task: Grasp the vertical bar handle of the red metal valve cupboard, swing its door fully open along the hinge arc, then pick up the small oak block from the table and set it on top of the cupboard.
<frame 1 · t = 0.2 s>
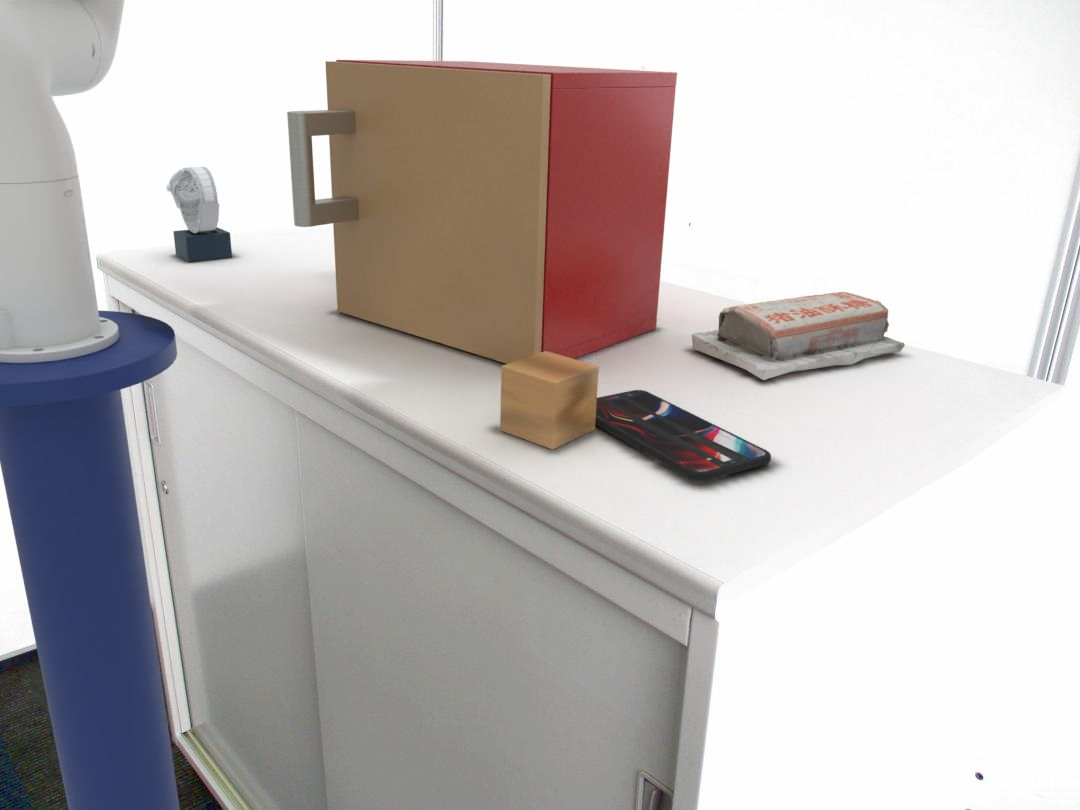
packaged product: (796, 354, 88), on the table
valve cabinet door: (402, 213, 81), point 12 cm above the table, hinge at 0.0°
watch: (203, 258, 117), on the table
oak block: (547, 430, 68), on the table
smartphone: (665, 437, 68), on the table
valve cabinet: (499, 319, 95), on the table
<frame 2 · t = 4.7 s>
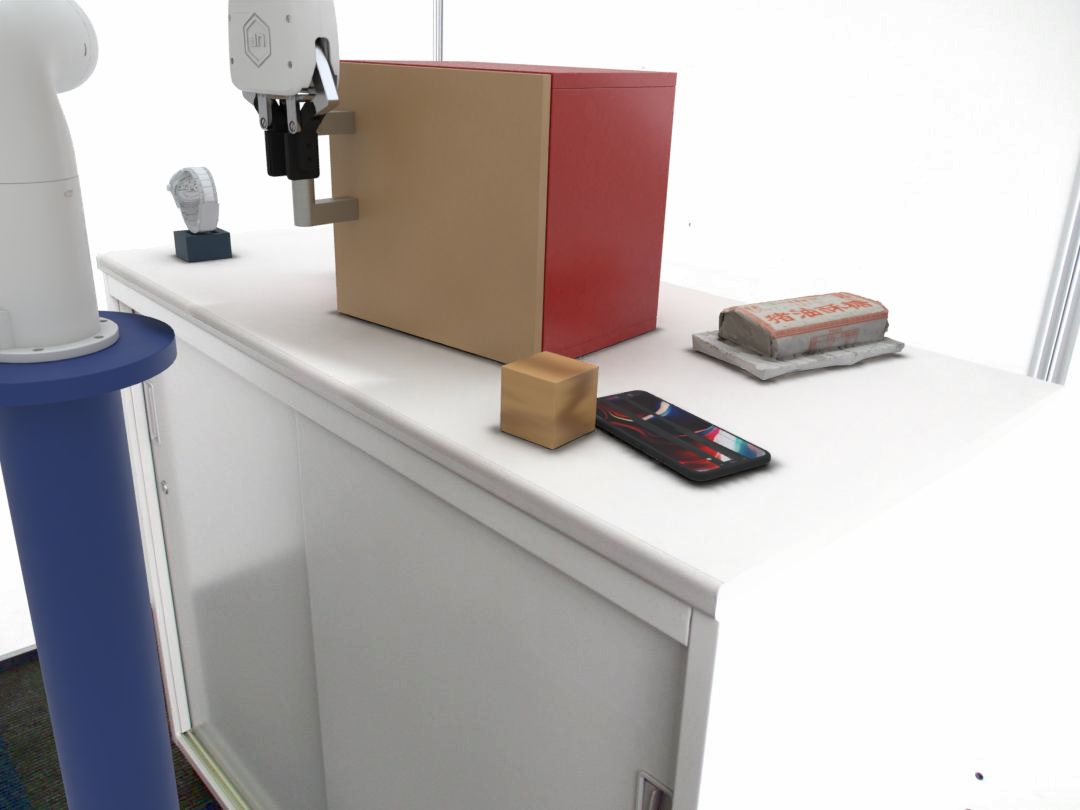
hand: (293, 175, 83), 15 cm above the table, tool pointing down, fingers closed on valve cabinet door, 2 cm apart
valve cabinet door: (402, 213, 81), point 12 cm above the table, hinge at 0.0°, touching gripper
everything else where it was.
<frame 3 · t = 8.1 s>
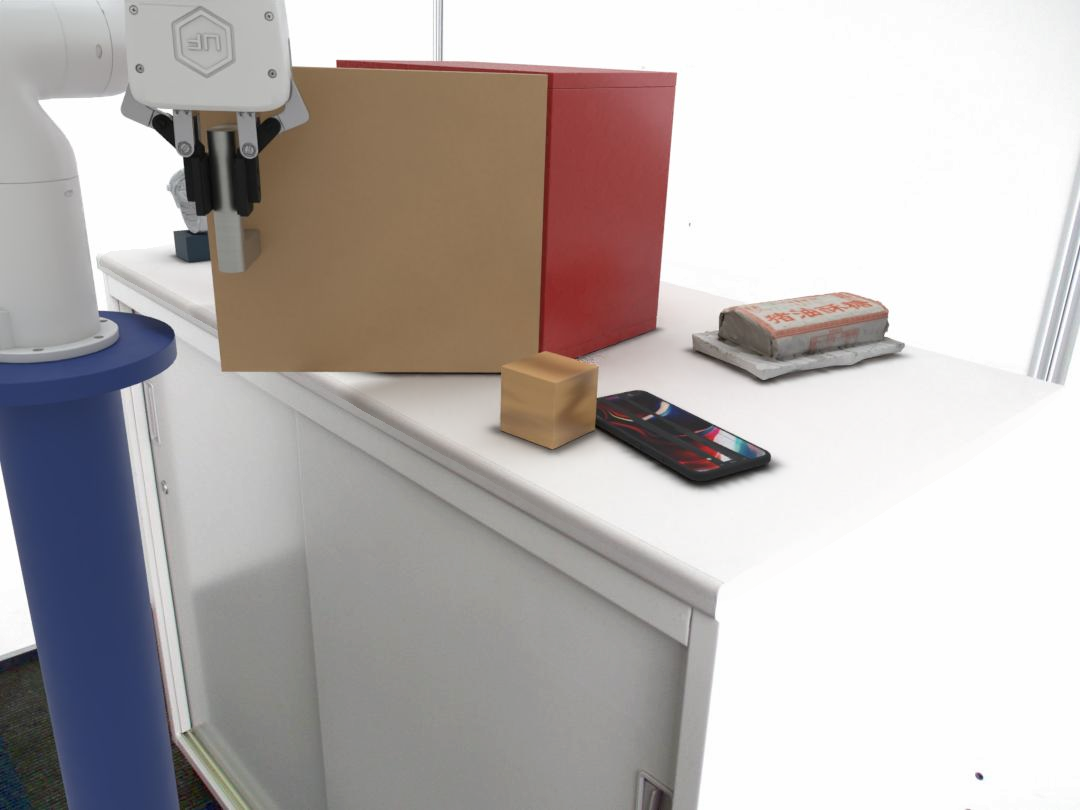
hand: (225, 211, 66), 15 cm above the table, tool pointing down, fingers closed on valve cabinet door, 2 cm apart
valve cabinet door: (374, 236, 71), point 12 cm above the table, hinge at 44.8°, touching gripper
everything else where it was.
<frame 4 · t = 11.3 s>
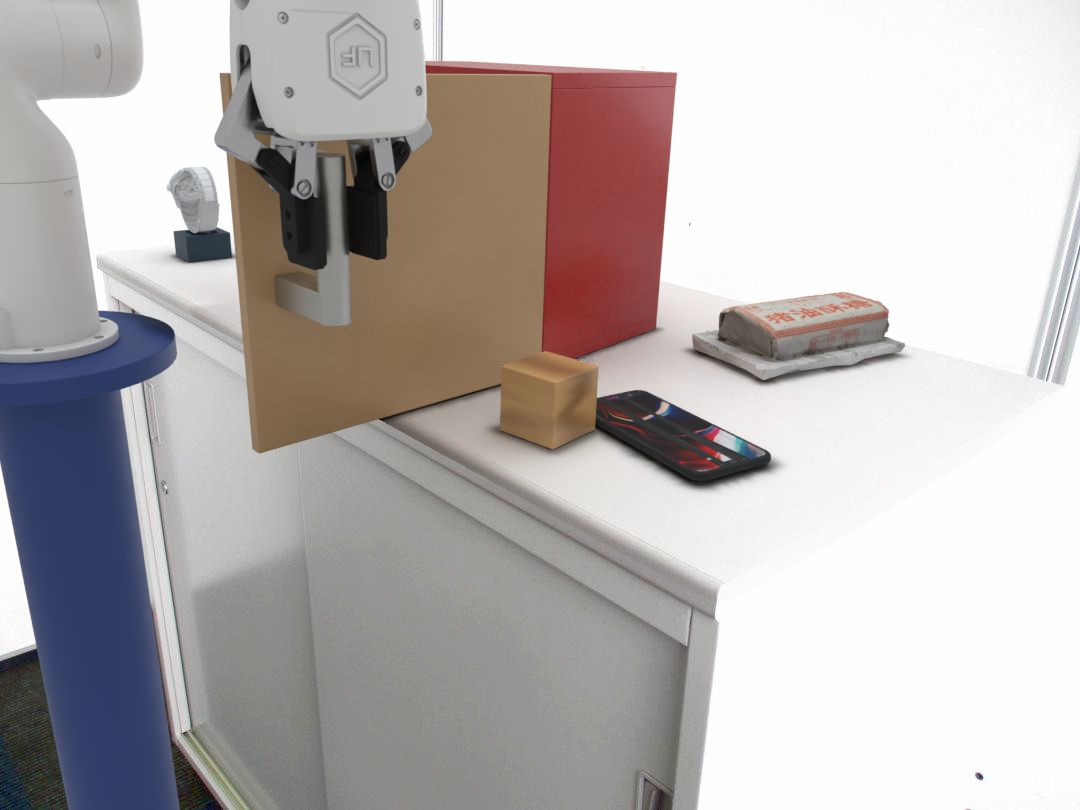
hand: (337, 257, 55), 14 cm above the table, tool pointing down, fingers open, 3 cm apart
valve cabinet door: (438, 259, 65), point 12 cm above the table, hinge at 83.9°
everything else where it was.
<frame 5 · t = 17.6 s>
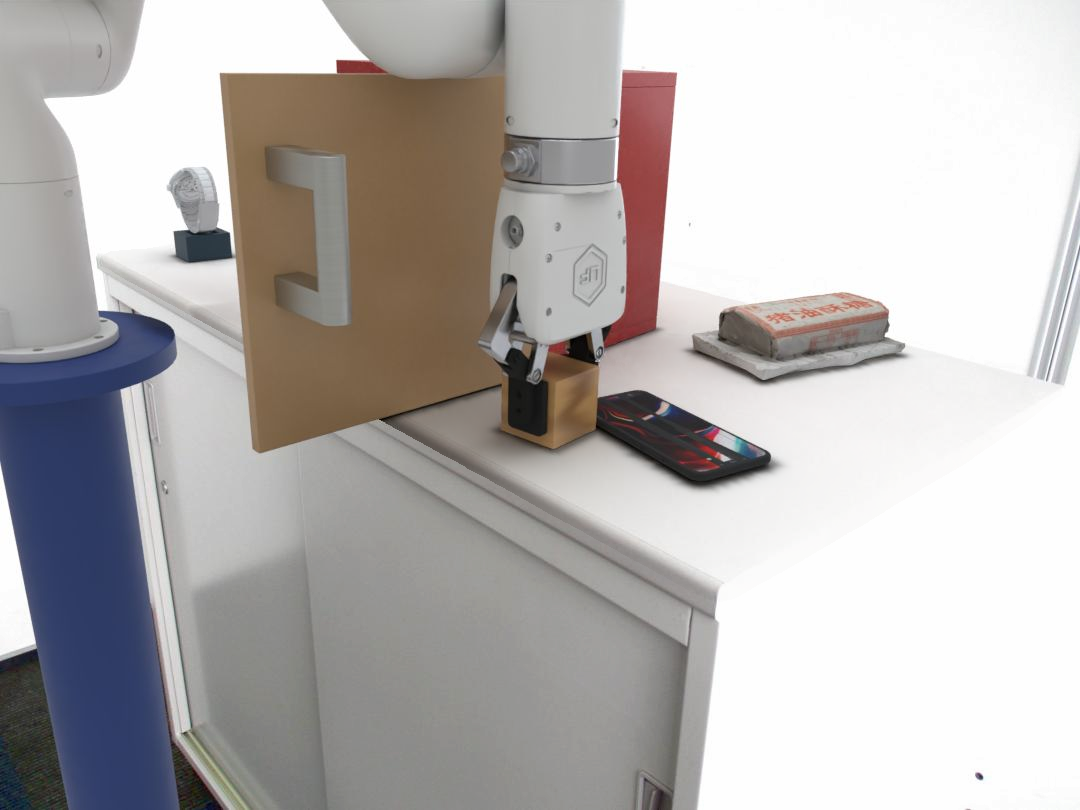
hand: (553, 417, 67), 1 cm above the table, tool pointing down, fingers closed on oak block, 5 cm apart
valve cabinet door: (438, 259, 65), point 12 cm above the table, hinge at 83.9°, touching arm
oak block: (548, 430, 68), on the table, touching gripper
everything else where it was.
when the fingers open (26 cm above the table, at t = 25.2 s): oak block stays where it is, resting on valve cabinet.
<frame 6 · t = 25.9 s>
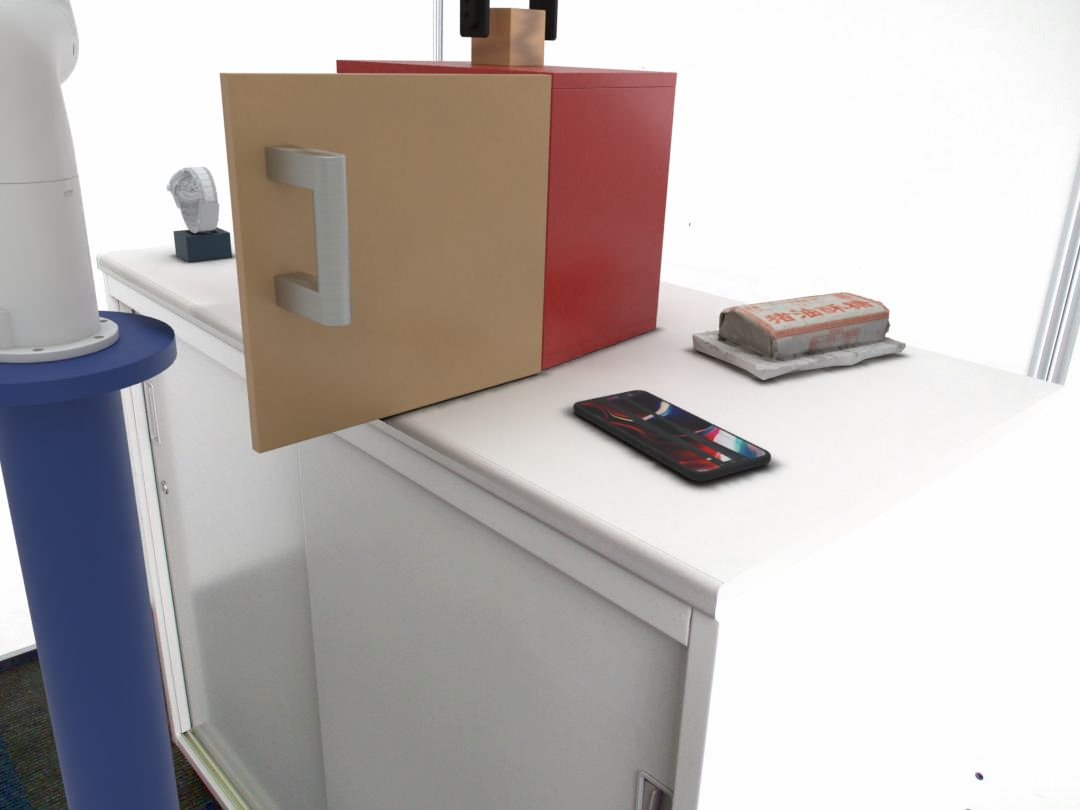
hand: (509, 38, 88), 27 cm above the table, tool pointing down, fingers open, 9 cm apart
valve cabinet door: (438, 259, 65), point 12 cm above the table, hinge at 84.0°
oak block: (507, 65, 89), point 24 cm above the table, touching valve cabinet
everything else where it was.
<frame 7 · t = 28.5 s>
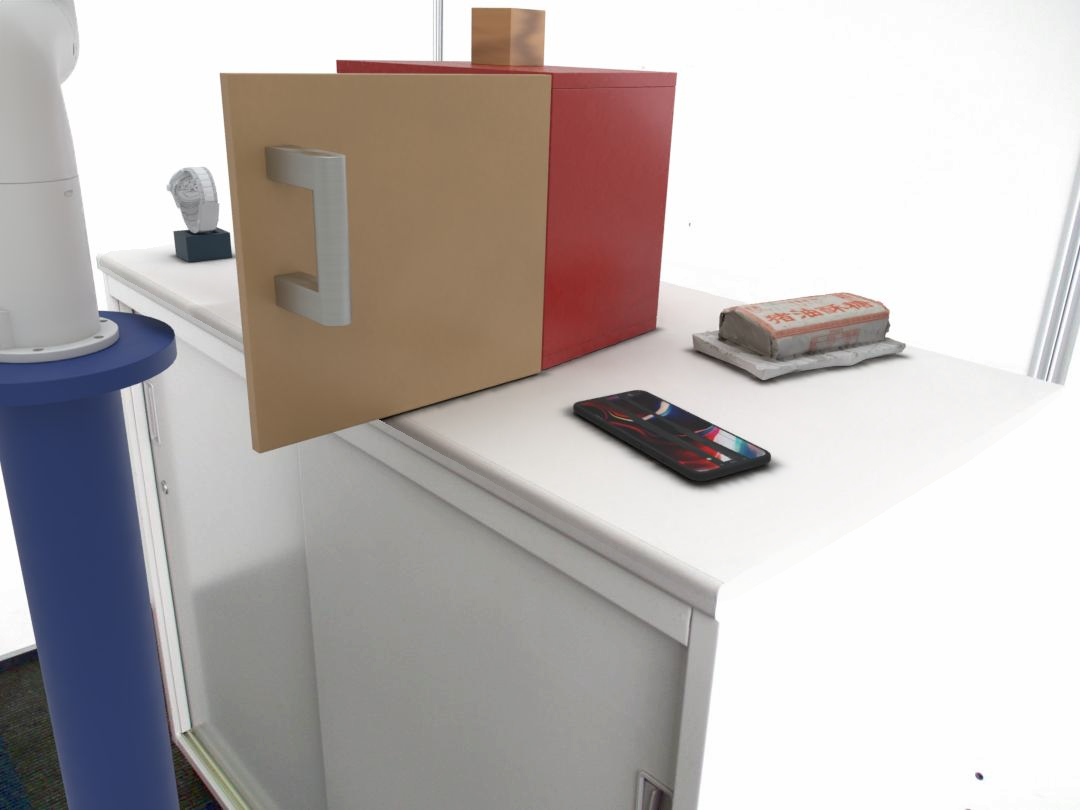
nothing on the table moved.
at the end: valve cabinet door at +84° (first picture: +0°); oak block inside the target area on the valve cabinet (3.8 cm from its centre), point 24.4 cm above the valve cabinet's base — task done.
